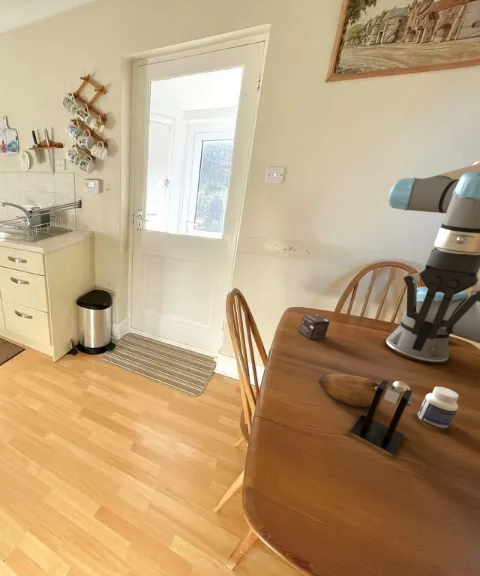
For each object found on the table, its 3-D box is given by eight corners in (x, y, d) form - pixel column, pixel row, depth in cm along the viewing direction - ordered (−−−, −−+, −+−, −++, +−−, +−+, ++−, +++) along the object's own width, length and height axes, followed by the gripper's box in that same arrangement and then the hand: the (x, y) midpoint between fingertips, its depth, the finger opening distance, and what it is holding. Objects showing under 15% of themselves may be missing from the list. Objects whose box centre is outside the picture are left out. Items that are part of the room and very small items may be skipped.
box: (298, 331, 121) (302, 314, 118) (312, 330, 121) (317, 313, 119) (310, 339, 115) (315, 321, 112) (325, 338, 116) (330, 320, 113)
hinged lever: (390, 389, 79) (395, 377, 79) (407, 395, 77) (413, 384, 76) (379, 399, 70) (384, 386, 69) (398, 407, 68) (404, 394, 67)
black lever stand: (360, 417, 79) (378, 372, 74) (402, 438, 73) (424, 390, 68) (348, 434, 74) (366, 387, 69) (392, 458, 68) (415, 408, 63)
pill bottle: (453, 433, 74) (470, 401, 71) (426, 430, 75) (442, 398, 72) (435, 417, 79) (450, 385, 76) (410, 414, 80) (424, 383, 77)
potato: (319, 405, 88) (319, 378, 92) (383, 416, 80) (380, 386, 84) (317, 394, 83) (317, 367, 87) (386, 404, 75) (382, 374, 79)
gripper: (411, 247, 67) (377, 341, 76) (506, 260, 58) (455, 367, 66) (419, 242, 72) (386, 332, 80) (509, 253, 62) (461, 354, 70)
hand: (417, 348), depth 73 cm, fingers closed
